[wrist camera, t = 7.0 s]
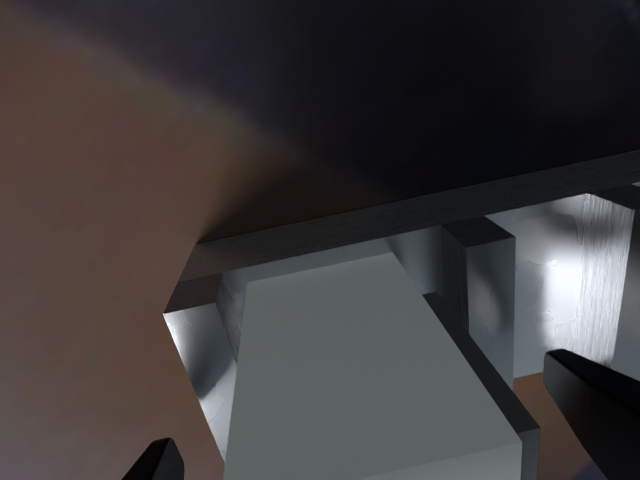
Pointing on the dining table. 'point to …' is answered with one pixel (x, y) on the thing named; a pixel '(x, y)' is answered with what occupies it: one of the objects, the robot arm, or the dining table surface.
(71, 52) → the dining table surface
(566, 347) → the rail
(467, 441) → the matte gray box
